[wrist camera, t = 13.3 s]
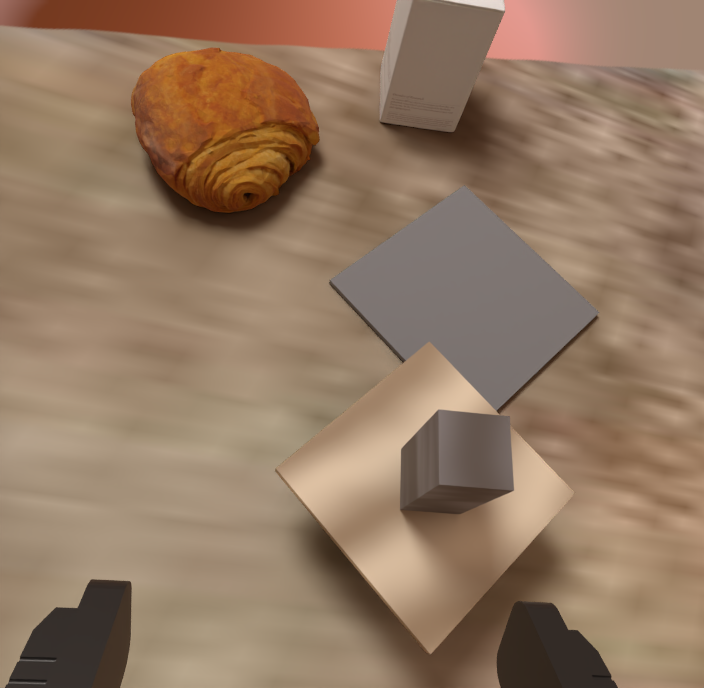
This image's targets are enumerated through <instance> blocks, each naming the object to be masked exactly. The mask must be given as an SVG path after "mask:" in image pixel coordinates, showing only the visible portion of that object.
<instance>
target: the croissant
mask: <svg viewBox="0 0 704 688" xmlns="http://www.w3.org/2000/svg"><path fill="white" fill-rule="evenodd" d="M131 106H132V111H133V115H134V116H135V118H136V121H135V126H136V133H137V136H138V139H139V142H140V143H141V145H142V147H143V149H144V150H145V151H146V152H147V153H148V154H149V157H150V159H151V161H152V164H153V165H154V167H155V169H156V171H157V173H158V174H159V175H160V176H161V177H162V179H163V180H164V181H165V182H166V183H167V184H168V185H169V186H170V187H171V188H173V189H174V191H176V192H177V193H178V194H180V195H181V196H182V197H184V198H186V199H188V200H189V201H190V202H191V203H192V204H194V205H196V206H200V207H205V208H207V209H209V210H211V211H214V212H226V213H231V212H236V211H244V210H249V209H252V208H254V207H256V206H257V205H259V204H261V203H264V202H265V201H267V200H268V199H269V198H270V197H271V196H275V195H278V194H279V190H278V189H279V188H280V187H281V185H282V184H283V183H285V182H286V181H287V179H288V176H291V175H292V174H294V173H296V172H297V171H300V169H301V168H302V166H303V165H304V164H306V161H307V160H310V157H309V155H310V154H311V148H312V145H316V144H317V143H318V142H319V133H318V132H319V127H318V124H317V122H316V119H315V117H314V115H313V113H312V112H311V110H310V107H309V102H308V99H307V97H306V96H305V94H304V93H303V91H302V90H301V89H300V87H299V86H298V85H297V83H296V81H295V80H294V79H293V78H292V77H291V76H290V75H289V74H287V73H286V72H285V71H283V70H281V69H280V68H278V67H276V66H273V65H271V64H268V63H266V62H263V61H262V60H260V59H257V58H256V57H254V56H252V55H247V54H241V53H235V52H225V51H222V50H220V48H208V49H203V50H197V51H190V52H180V53H175V54H171V55H168V56H165V57H164V58H162V59H160V60H158V61H157V62H155V63H154V64H153V65H152V66H151V67H150V68H149V69H147V70H146V71H144V72H143V73H142V74H141V75H140V77H139V79H138V82H137V84H136V86H135V88H134V89H133V92H132V96H131Z"/></svg>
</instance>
